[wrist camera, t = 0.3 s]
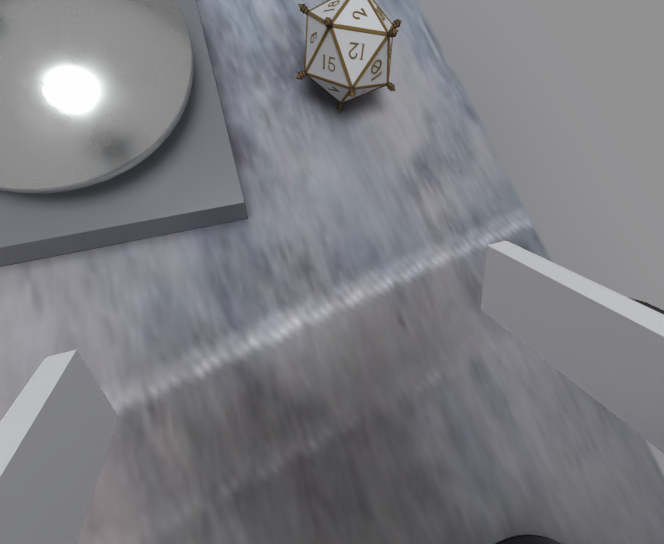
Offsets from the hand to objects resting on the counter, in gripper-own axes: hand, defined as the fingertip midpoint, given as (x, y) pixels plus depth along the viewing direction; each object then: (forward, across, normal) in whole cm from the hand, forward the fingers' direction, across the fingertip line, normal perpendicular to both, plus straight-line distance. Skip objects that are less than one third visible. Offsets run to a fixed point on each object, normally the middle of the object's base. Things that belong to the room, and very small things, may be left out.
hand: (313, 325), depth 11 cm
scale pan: (+21, +11, -10) cm, 26 cm away
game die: (+26, -10, -7) cm, 28 cm away
